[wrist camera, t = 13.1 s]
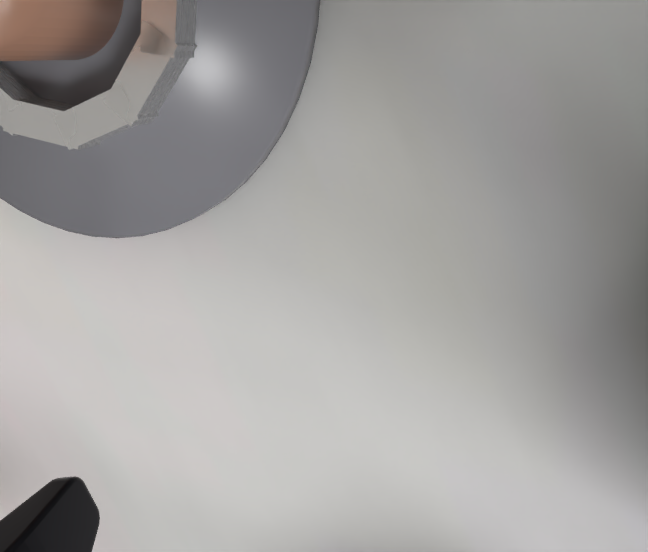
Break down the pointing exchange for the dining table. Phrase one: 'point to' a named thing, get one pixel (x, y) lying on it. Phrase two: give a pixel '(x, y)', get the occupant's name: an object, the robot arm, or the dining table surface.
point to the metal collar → (126, 93)
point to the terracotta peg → (56, 28)
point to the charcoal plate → (166, 123)
